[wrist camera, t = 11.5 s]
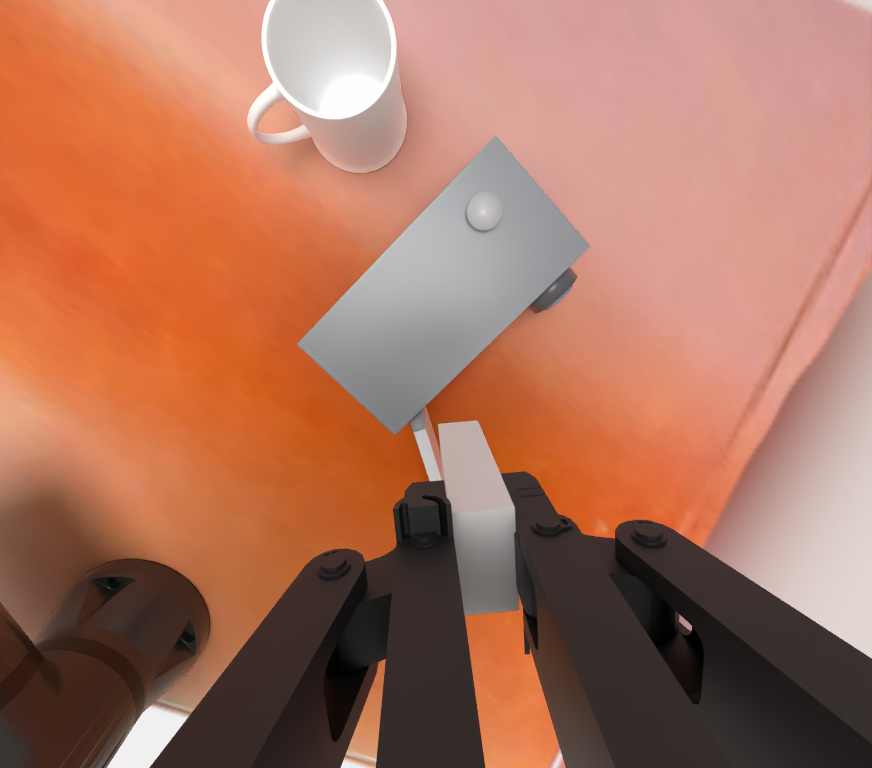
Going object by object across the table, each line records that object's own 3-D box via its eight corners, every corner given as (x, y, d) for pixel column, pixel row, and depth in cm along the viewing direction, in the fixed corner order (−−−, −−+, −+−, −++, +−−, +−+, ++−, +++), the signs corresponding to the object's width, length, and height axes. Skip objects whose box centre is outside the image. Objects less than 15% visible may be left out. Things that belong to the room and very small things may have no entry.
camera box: (414, 415, 43) (412, 456, 33) (326, 330, 41) (292, 346, 30) (563, 271, 41) (613, 265, 30) (476, 173, 39) (498, 130, 28)
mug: (299, 202, 39) (247, 165, 27) (257, 103, 37) (180, 16, 25) (421, 152, 38) (421, 91, 26) (384, 48, 36) (366, -66, 25)
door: (402, 397, 43) (397, 423, 35) (422, 391, 43) (422, 416, 34) (436, 502, 46) (440, 550, 37) (455, 497, 45) (463, 544, 37)
